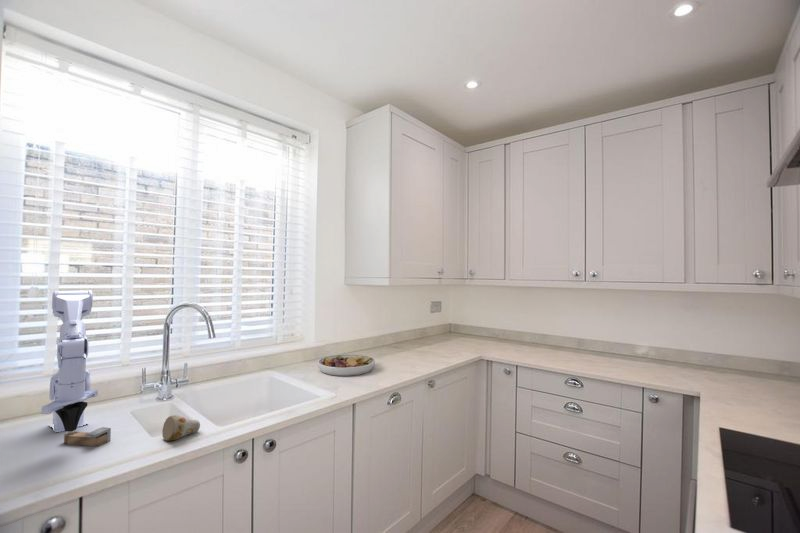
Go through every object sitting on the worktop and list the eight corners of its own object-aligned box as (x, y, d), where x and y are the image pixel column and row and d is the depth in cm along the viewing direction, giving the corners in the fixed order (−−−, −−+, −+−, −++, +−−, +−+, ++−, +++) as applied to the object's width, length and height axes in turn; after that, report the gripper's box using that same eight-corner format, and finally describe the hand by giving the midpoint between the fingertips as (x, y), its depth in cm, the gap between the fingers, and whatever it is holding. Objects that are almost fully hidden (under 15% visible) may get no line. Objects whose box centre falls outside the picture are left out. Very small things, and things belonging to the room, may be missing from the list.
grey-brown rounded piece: (206, 433, 116) (194, 412, 112) (174, 456, 111) (160, 434, 106) (198, 421, 121) (185, 400, 117) (166, 442, 115) (152, 420, 111)
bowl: (327, 362, 211) (327, 348, 211) (379, 364, 208) (379, 350, 208) (309, 376, 181) (309, 360, 181) (369, 379, 178) (369, 362, 179)
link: (61, 443, 108) (61, 433, 108) (71, 439, 111) (71, 428, 111) (97, 446, 106) (98, 435, 106) (107, 441, 109) (107, 431, 109)
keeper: (85, 447, 106) (86, 433, 106) (102, 440, 110) (102, 427, 111) (94, 448, 105) (94, 434, 105) (110, 441, 110) (110, 427, 110)
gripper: (59, 390, 96) (57, 443, 96) (107, 375, 111) (106, 420, 111) (34, 389, 97) (33, 441, 97) (85, 374, 111) (84, 419, 111)
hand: (70, 430), depth 104 cm, fingers closed
